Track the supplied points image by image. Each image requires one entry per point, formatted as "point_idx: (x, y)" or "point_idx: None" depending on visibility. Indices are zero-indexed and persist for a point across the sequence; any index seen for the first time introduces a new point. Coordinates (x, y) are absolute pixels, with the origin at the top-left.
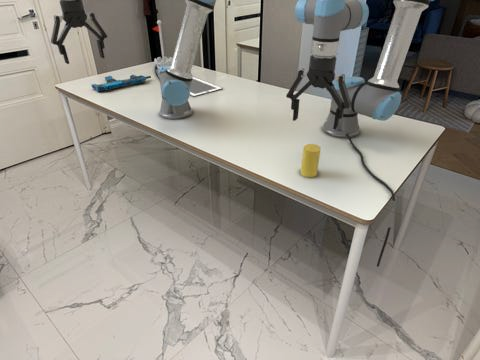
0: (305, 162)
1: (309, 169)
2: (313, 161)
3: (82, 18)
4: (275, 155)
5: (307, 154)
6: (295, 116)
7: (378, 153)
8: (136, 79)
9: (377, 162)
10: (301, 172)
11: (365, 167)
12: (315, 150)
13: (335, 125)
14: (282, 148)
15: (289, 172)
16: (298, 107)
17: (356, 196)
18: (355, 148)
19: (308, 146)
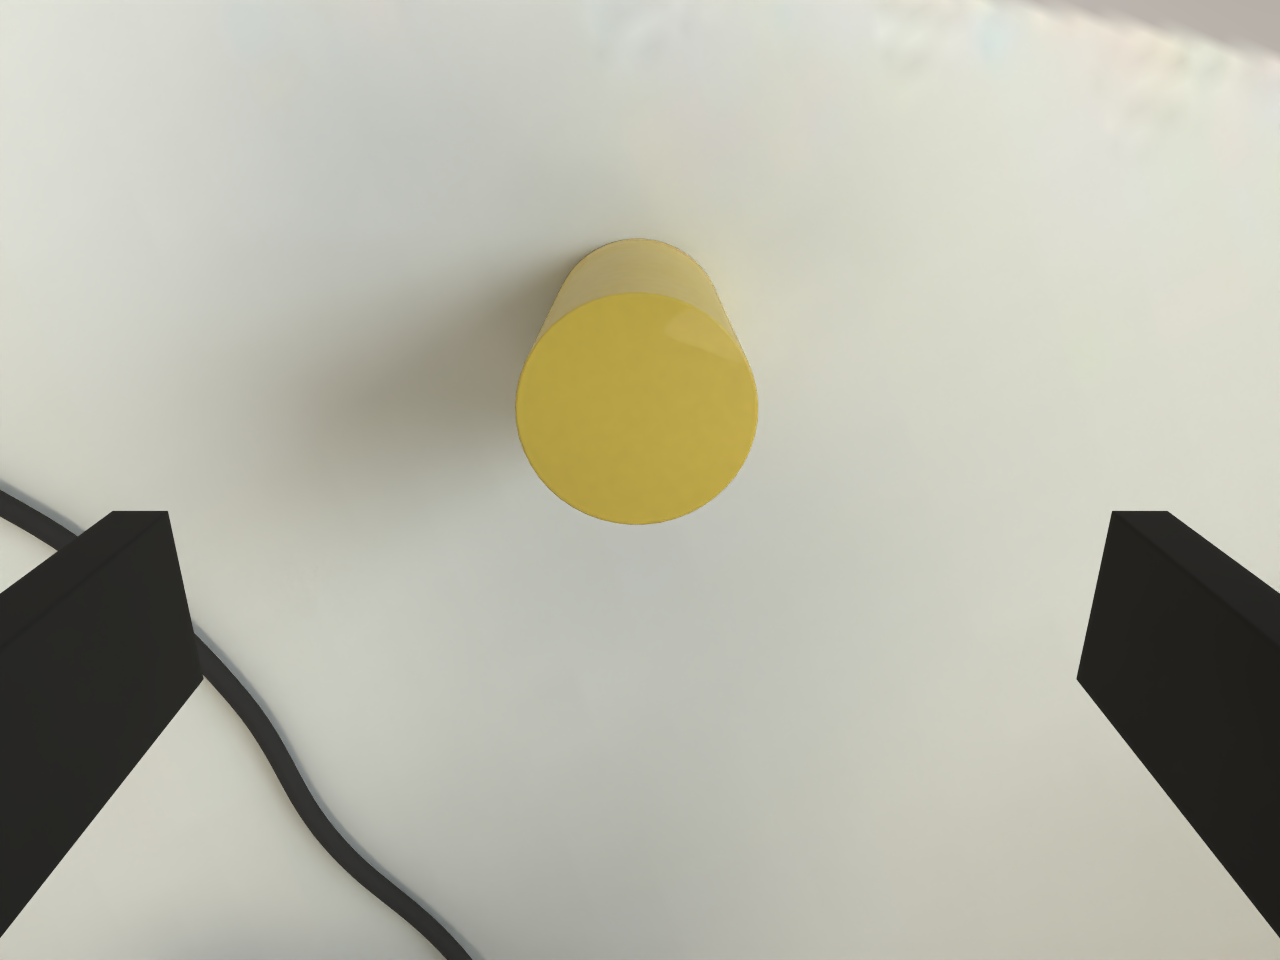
0: (667, 266)
1: (607, 256)
2: (570, 289)
3: None
4: (1068, 487)
5: (654, 283)
6: (1164, 579)
7: (225, 922)
8: None
9: (170, 790)
10: (700, 268)
11: (197, 649)
12: (563, 360)
13: (69, 552)
14: (1037, 644)
15: (825, 235)
16: (1245, 860)
17: (61, 138)
18: (408, 907)
19: (695, 428)
